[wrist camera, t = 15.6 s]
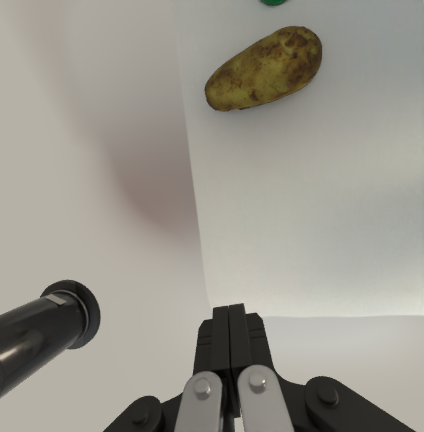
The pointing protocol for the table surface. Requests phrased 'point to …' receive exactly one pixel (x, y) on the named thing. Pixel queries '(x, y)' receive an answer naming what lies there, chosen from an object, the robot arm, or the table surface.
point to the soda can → (272, 2)
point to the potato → (266, 70)
